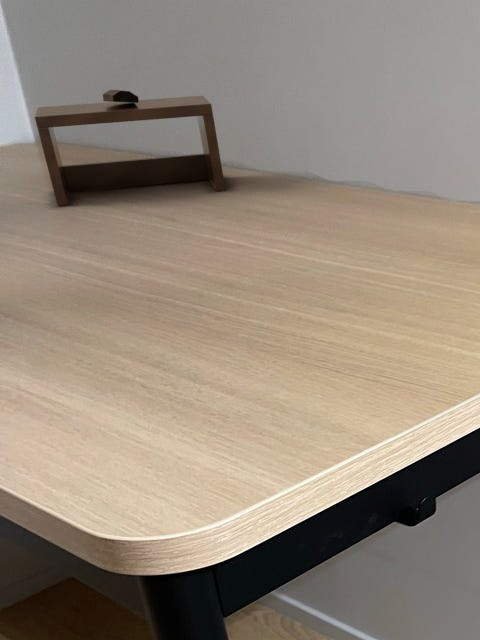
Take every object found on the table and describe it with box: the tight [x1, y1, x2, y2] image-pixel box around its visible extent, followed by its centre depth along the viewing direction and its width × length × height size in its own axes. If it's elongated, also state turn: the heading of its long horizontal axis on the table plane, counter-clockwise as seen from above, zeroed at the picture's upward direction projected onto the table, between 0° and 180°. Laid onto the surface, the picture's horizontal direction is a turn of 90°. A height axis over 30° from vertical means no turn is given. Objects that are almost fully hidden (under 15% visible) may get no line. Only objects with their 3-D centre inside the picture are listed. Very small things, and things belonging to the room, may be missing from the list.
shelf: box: [34, 95, 227, 207], centre depth 123 cm, size 20×10×10 cm, turn 109°
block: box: [102, 89, 140, 103], centre depth 119 cm, size 4×6×2 cm, turn 30°
